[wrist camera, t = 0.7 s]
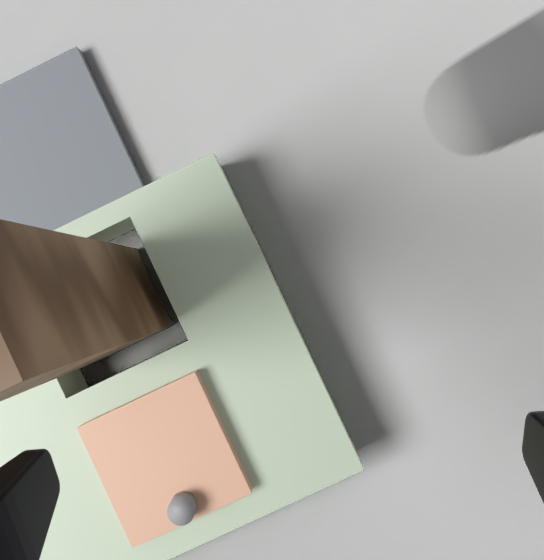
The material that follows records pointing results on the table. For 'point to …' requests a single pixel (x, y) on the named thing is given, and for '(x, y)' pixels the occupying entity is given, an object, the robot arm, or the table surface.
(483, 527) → the table surface
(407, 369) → the table surface
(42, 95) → the grey mat
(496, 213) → the table surface
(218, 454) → the puzzle board
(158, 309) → the walnut block
